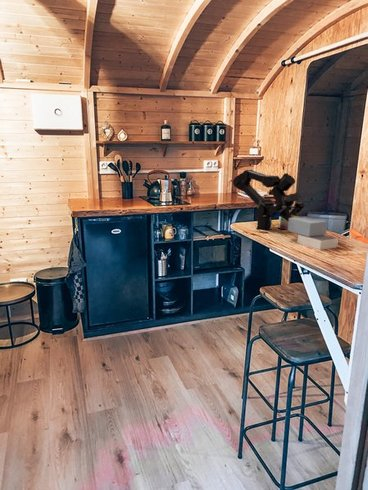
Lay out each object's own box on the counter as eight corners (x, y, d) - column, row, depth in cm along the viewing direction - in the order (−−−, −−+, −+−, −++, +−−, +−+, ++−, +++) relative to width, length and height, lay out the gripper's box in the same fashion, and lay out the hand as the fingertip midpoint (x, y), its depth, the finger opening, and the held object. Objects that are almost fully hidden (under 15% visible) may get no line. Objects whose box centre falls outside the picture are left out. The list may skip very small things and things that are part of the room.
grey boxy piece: (280, 228, 185) (281, 215, 183) (296, 226, 190) (297, 214, 189) (308, 236, 170) (310, 222, 168) (326, 234, 175) (327, 221, 174)
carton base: (297, 242, 176) (298, 234, 175) (314, 240, 181) (315, 232, 180) (319, 249, 165) (321, 240, 164) (337, 247, 171) (338, 238, 170)
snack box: (290, 229, 204) (293, 201, 200) (279, 228, 205) (282, 200, 201) (288, 221, 224) (291, 195, 220) (278, 221, 225) (280, 195, 221)
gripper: (275, 187, 179) (290, 214, 173) (304, 186, 188) (319, 212, 182) (262, 201, 188) (276, 228, 181) (290, 199, 197) (304, 225, 191)
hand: (294, 223), depth 184 cm, fingers closed on grey boxy piece, 2 cm apart
